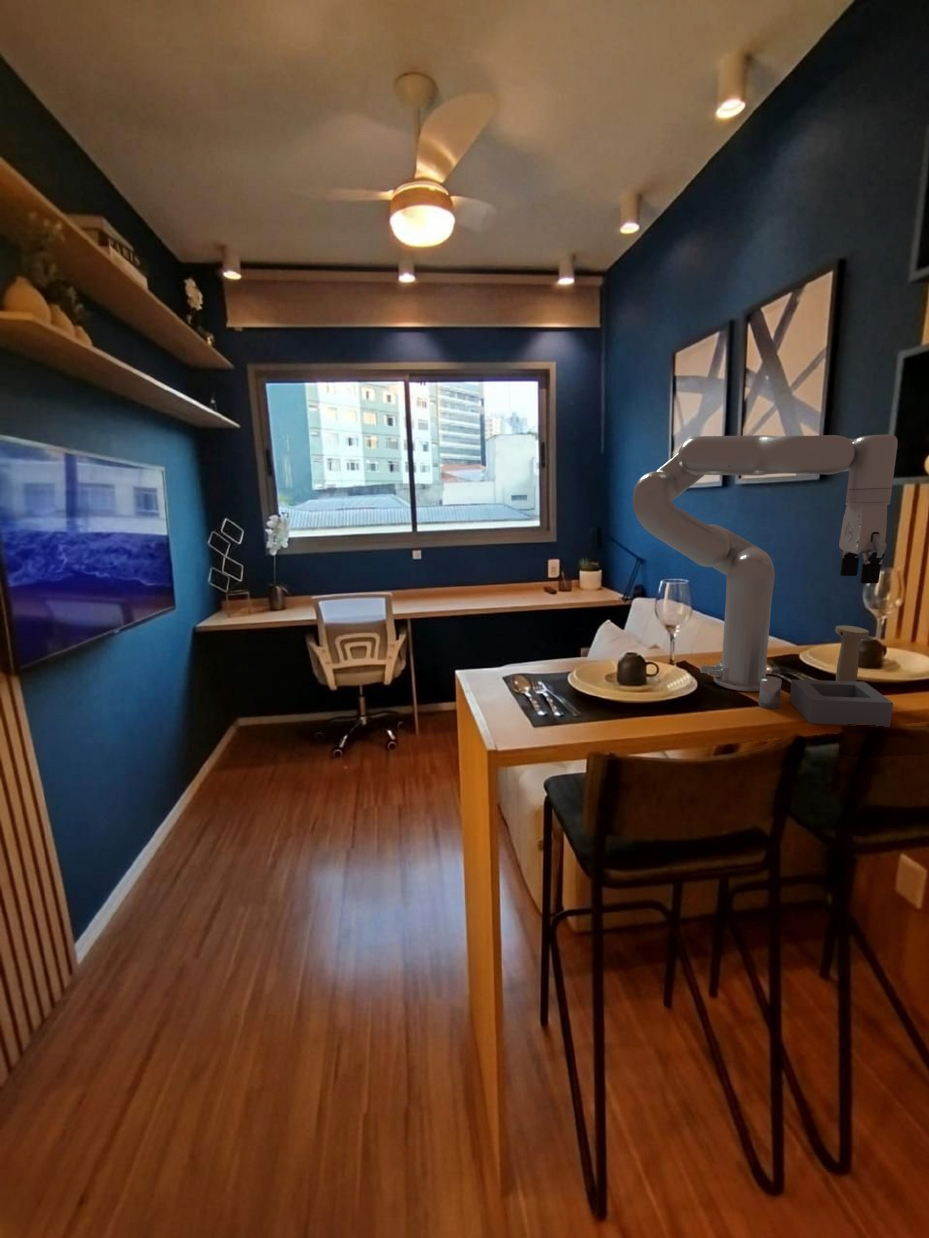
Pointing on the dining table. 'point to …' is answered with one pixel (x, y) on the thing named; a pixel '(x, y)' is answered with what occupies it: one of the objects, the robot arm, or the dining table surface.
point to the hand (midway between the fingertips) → (858, 579)
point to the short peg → (769, 692)
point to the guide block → (840, 703)
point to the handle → (849, 652)
